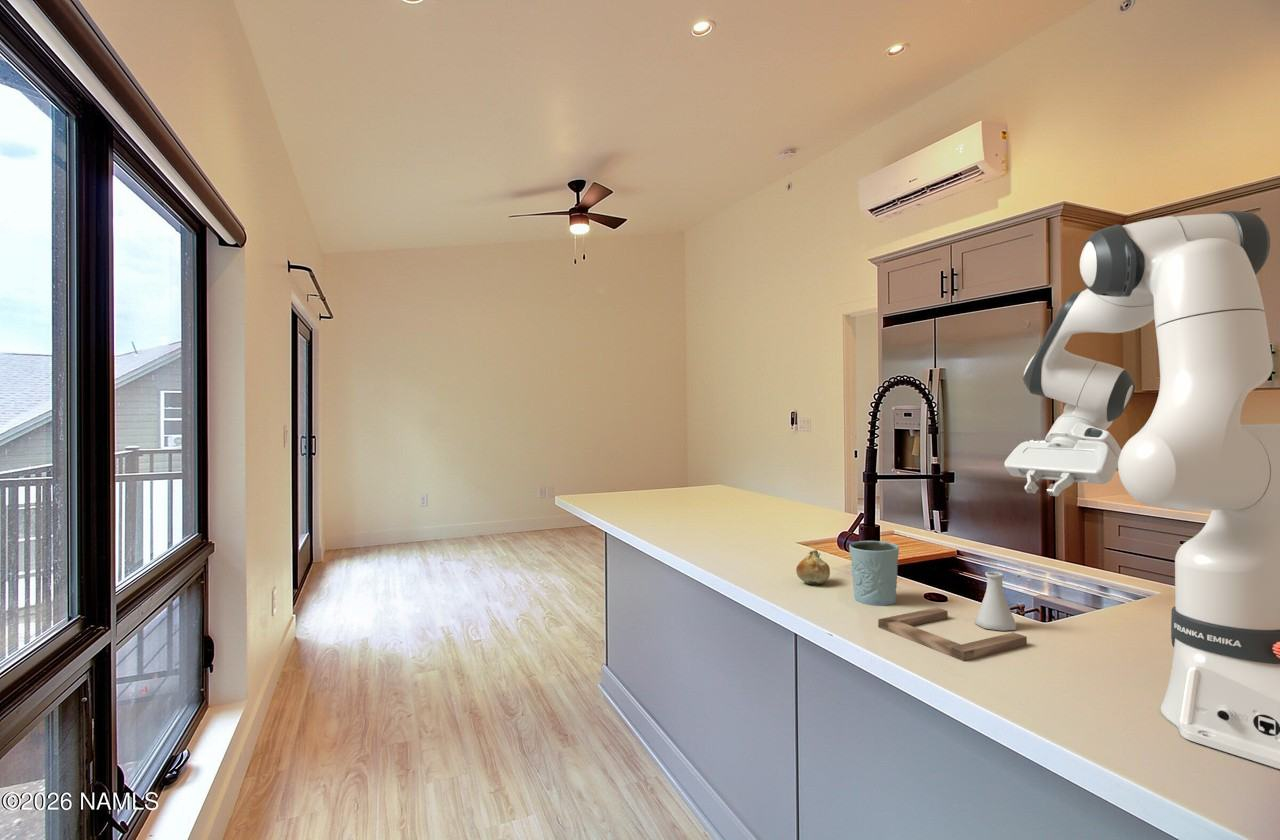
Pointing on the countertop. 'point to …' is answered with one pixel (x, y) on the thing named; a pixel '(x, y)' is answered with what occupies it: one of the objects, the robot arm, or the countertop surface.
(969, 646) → the walnut bay
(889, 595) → the blue embossed cup
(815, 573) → the onion
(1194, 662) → the robot arm
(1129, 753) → the countertop surface
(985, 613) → the flask
